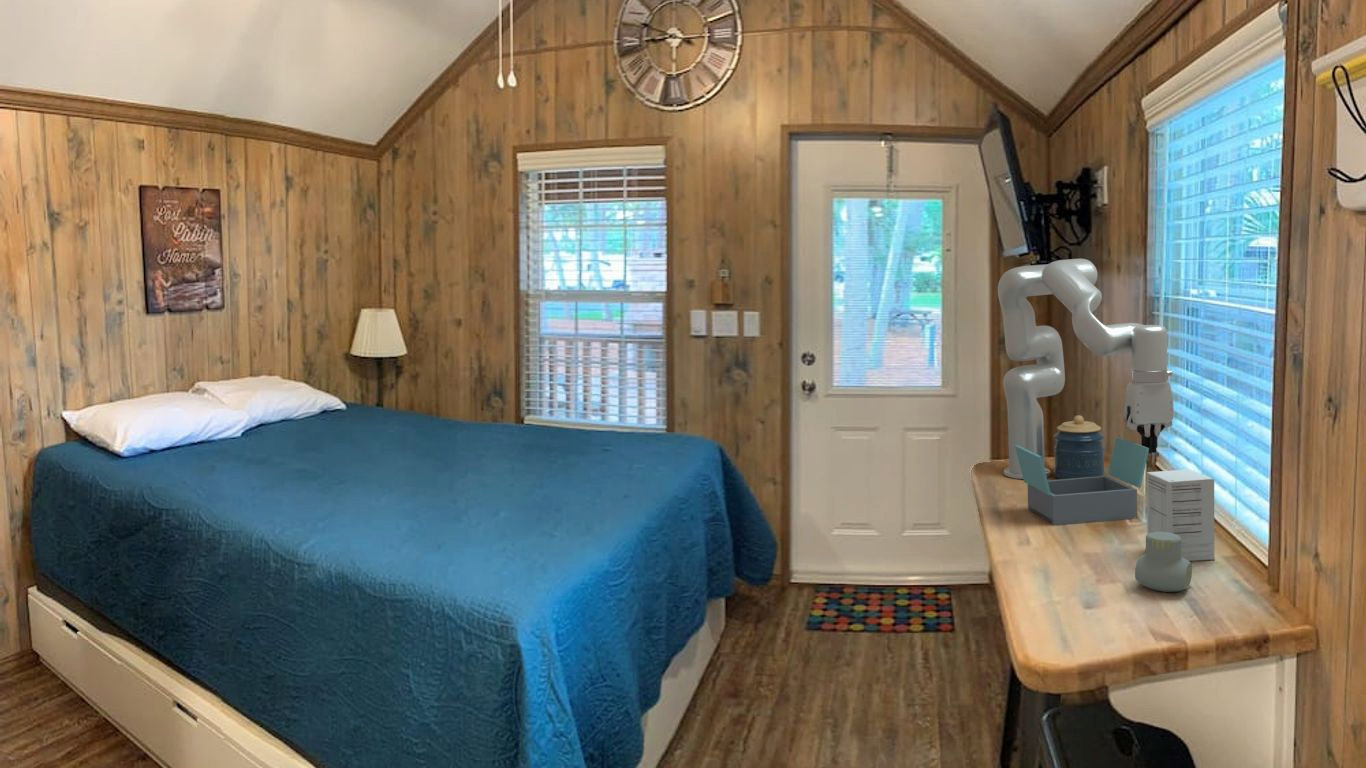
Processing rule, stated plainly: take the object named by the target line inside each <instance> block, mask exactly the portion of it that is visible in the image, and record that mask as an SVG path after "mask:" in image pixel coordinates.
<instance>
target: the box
mask: <svg viewBox="0 0 1366 768" xmlns="http://www.w3.org/2000/svg"><path fill="white" fill-rule="evenodd" d="M1047 480H1048V479H1047ZM1048 484H1049V488H1050V492H1051V495H1047V494H1045V493H1044V492H1042V491H1040V490H1038V489H1036V488H1035V487H1033V486H1031V485H1029V484H1027V509H1028V510H1029V511H1030V512H1031V513H1034V514H1036V516H1038V517H1040V518H1042V519H1043V520H1044V521H1046V522H1048V523H1049V524H1051V525H1052V526H1059V525H1060V526H1061V525H1074V524H1075V525H1076V524H1083V523H1082V522H1087V523H1095V522H1094V521H1099V522H1109V521H1110V522H1111V521H1121V520H1132V519H1131V518H1135V517H1137V518H1138V490H1137V489H1138V488H1135V487H1132V486H1130V485H1128V484H1125V483H1123V482H1121V481H1119V480H1117V479H1114V478H1112V477H1110V476H1108V475H1104V476H1097V477H1085V478H1073V479H1049V480H1048ZM1135 519H1136V518H1135Z"/></svg>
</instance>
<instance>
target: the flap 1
mask: <svg viewBox="0 0 1366 768" xmlns="http://www.w3.org/2000/svg"><path fill="white" fill-rule="evenodd" d="M1015 449H1016V452H1017V456H1018V460H1019V464H1020V468H1021V471H1022V475H1023V479H1022V480H1023V481H1024V483H1026V484H1027V485H1028V484H1029V485H1031V486H1033V487H1035V488H1036V489H1038V490H1040V491H1042V492H1044V493H1045V494H1047V495H1051V492H1050V488H1049V484H1048V477H1047V476H1046V472H1045V469H1044V466H1045V464H1044V465H1043V461H1042V457H1041V456H1039V455H1037V454H1035V453H1033V452H1031V451H1029V450H1027V449H1025V448H1022V447H1020V446H1018V445H1015Z"/></svg>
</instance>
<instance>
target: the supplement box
mask: <svg viewBox="0 0 1366 768" xmlns="http://www.w3.org/2000/svg"><path fill="white" fill-rule="evenodd" d="M1146 496H1147V497H1146V501H1147V503H1146V504H1147V505H1146V506H1147V507H1146V508H1147V512H1146V513H1147V515H1146V516H1147V518H1146V522H1147V528H1146V529H1147V530H1146V531H1147V534H1148V533H1151V532H1169V533H1174V534H1177V535H1178V536H1180V537H1181V548H1182V557H1183V558H1185V559H1186V560H1188V561H1189V562H1192V561H1193V562H1195V561H1196V562H1197V561H1213V560H1215V558H1216V557H1215V478H1213V477H1209V476H1207V475H1205V474H1202V473H1199V472H1196V471H1193V470H1192V469H1174V470H1163V471H1162V470H1161V471H1159V470H1158V471H1147V472H1146ZM1147 534H1146V535H1147Z"/></svg>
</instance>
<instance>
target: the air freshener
mask: <svg viewBox="0 0 1366 768" xmlns="http://www.w3.org/2000/svg"><path fill="white" fill-rule="evenodd" d="M1134 570H1135V571H1134V578H1135V580H1136V582H1137V583H1138V584H1140V585H1142V586H1143V587H1145V588H1148V589H1150V590H1153V591H1157V592H1162V593H1163V592H1165V593H1175V592H1180V591H1183V590H1186V589H1188V588H1189V586H1190V584H1191V581H1192V576H1193V565H1192V562H1191V561H1188V560H1186V559H1185V558H1183V557H1182V548H1181V537H1180V536H1178V535H1177V534H1174V533H1169V532H1151V533H1148V534H1146V535H1145V554H1142V555H1140V556H1139V557H1138V558H1137V560H1136V564H1135V568H1134Z"/></svg>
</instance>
